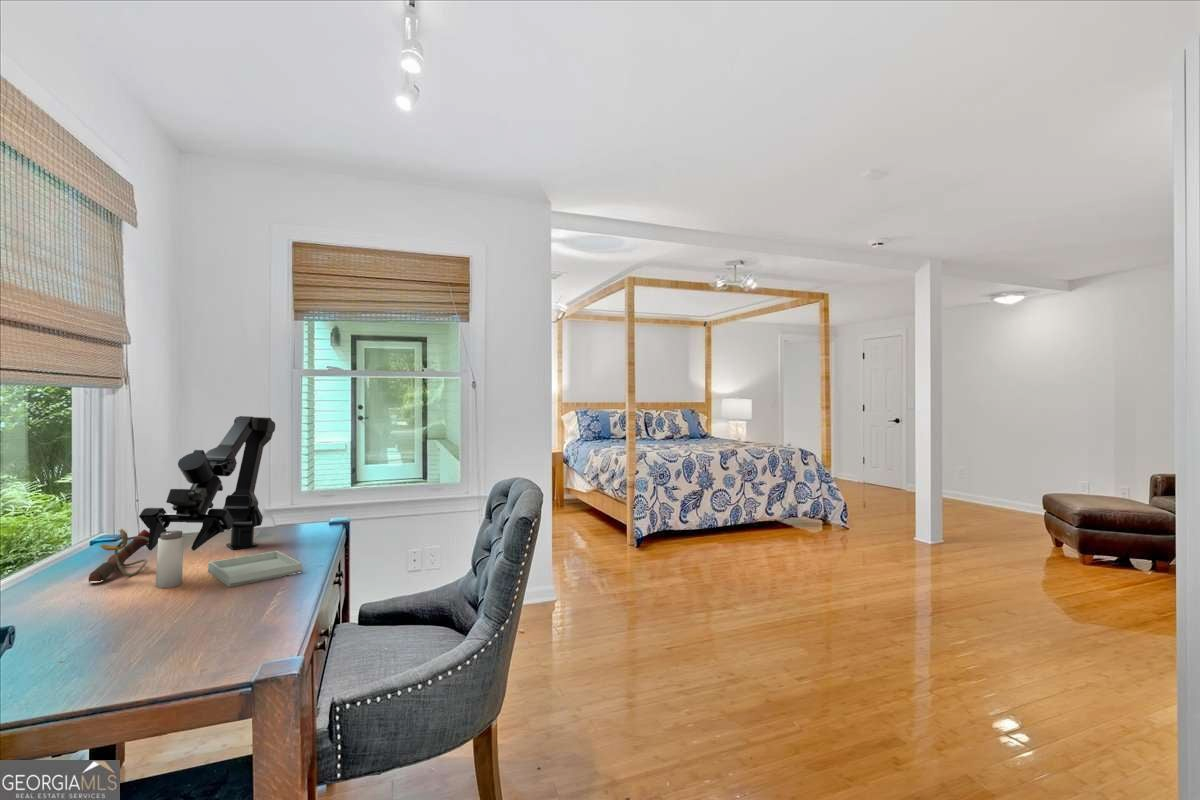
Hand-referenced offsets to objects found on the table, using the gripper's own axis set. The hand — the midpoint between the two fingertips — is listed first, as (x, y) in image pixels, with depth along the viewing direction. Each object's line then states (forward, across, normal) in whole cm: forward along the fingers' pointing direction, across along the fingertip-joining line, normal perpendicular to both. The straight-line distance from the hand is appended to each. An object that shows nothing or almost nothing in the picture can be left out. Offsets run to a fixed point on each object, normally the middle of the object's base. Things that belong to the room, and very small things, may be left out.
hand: (171, 549), depth 127 cm
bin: (-1, +15, +12) cm, 19 cm away
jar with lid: (+6, 0, +6) cm, 8 cm away
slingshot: (0, -14, +12) cm, 19 cm away
